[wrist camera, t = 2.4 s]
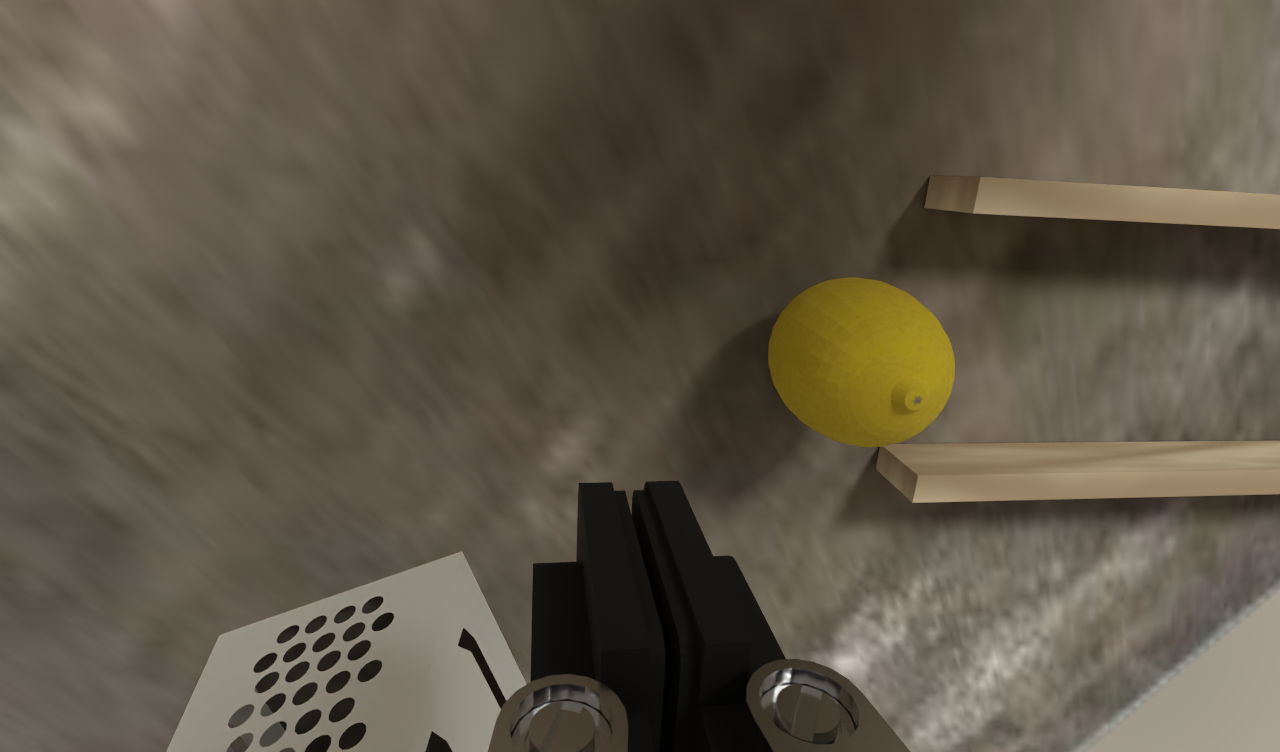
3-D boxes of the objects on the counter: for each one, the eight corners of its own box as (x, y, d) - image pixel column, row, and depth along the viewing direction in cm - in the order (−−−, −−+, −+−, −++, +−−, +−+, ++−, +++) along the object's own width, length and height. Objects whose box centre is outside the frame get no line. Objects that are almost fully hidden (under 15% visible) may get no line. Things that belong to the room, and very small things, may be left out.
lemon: (759, 412, 26) (843, 511, 19) (728, 287, 25) (807, 341, 17) (883, 371, 27) (1015, 452, 19) (861, 243, 25) (998, 277, 17)
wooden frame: (930, 175, 24) (980, 176, 21) (1444, 206, 28) (1546, 210, 25) (875, 468, 28) (912, 502, 25) (1334, 462, 32) (1411, 491, 29)
